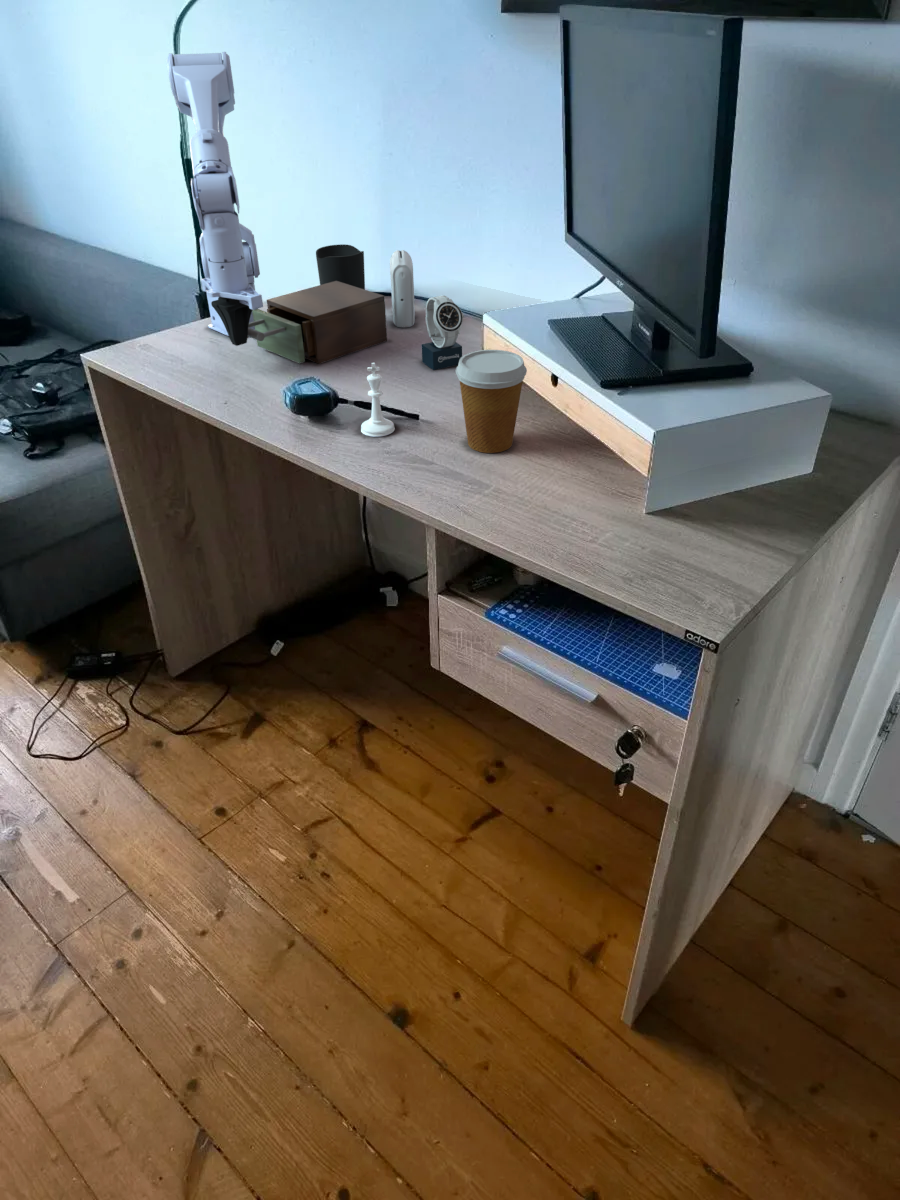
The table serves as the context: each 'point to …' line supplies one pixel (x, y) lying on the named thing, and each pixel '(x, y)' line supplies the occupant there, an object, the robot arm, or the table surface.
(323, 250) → the pen holder
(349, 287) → the cabinet
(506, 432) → the disposable coffee cup
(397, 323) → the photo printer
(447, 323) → the watch
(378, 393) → the chess piece
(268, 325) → the drawer
